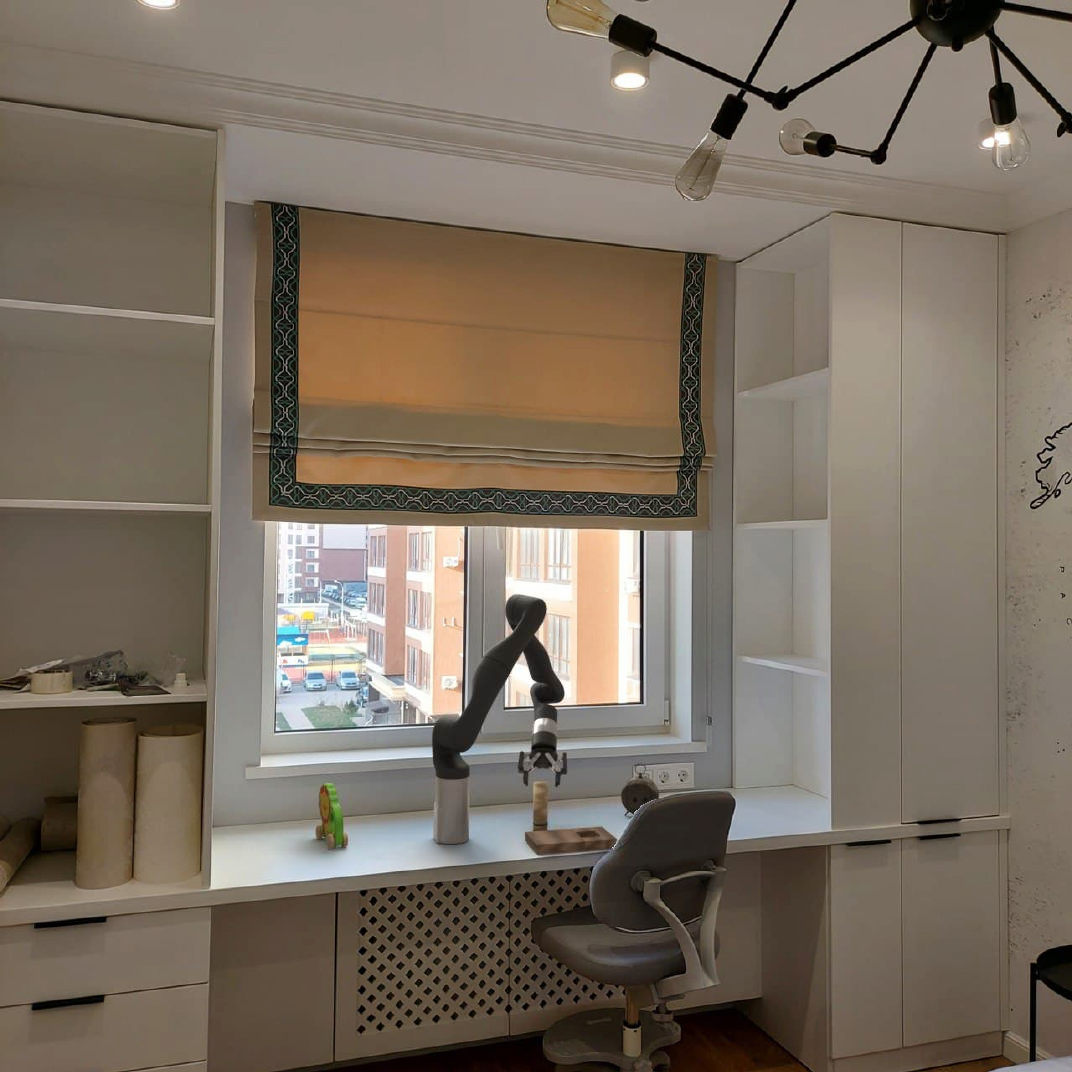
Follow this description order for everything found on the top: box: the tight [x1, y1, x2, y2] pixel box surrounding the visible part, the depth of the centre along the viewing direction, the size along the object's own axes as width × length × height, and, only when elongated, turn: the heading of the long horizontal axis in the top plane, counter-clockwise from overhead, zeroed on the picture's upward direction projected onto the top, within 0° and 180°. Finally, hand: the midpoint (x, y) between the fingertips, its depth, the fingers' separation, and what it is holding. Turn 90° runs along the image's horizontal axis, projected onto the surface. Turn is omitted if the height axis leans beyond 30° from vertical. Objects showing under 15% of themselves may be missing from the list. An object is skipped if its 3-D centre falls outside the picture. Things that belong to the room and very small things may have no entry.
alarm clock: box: [620, 762, 660, 817], centre depth 279 cm, size 11×5×16 cm, turn 76°
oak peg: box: [532, 780, 549, 831], centre depth 262 cm, size 4×4×14 cm
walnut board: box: [524, 826, 618, 856], centre depth 252 cm, size 22×12×2 cm, turn 106°
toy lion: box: [315, 782, 349, 850], centre depth 253 cm, size 16×6×15 cm, turn 29°
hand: (541, 785), depth 268 cm, fingers open, 8 cm apart
